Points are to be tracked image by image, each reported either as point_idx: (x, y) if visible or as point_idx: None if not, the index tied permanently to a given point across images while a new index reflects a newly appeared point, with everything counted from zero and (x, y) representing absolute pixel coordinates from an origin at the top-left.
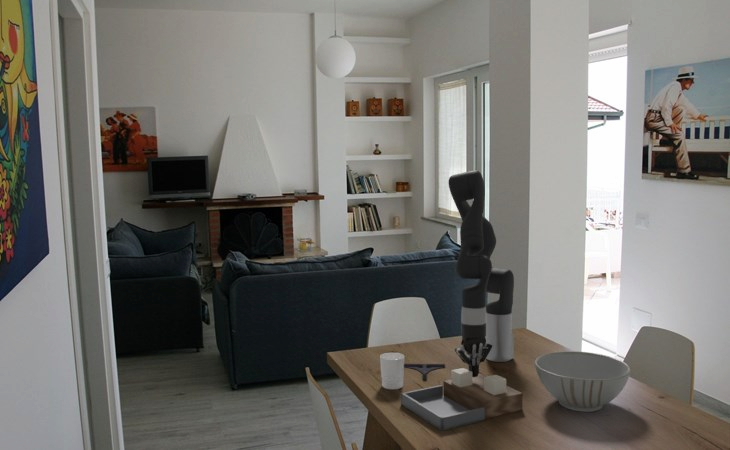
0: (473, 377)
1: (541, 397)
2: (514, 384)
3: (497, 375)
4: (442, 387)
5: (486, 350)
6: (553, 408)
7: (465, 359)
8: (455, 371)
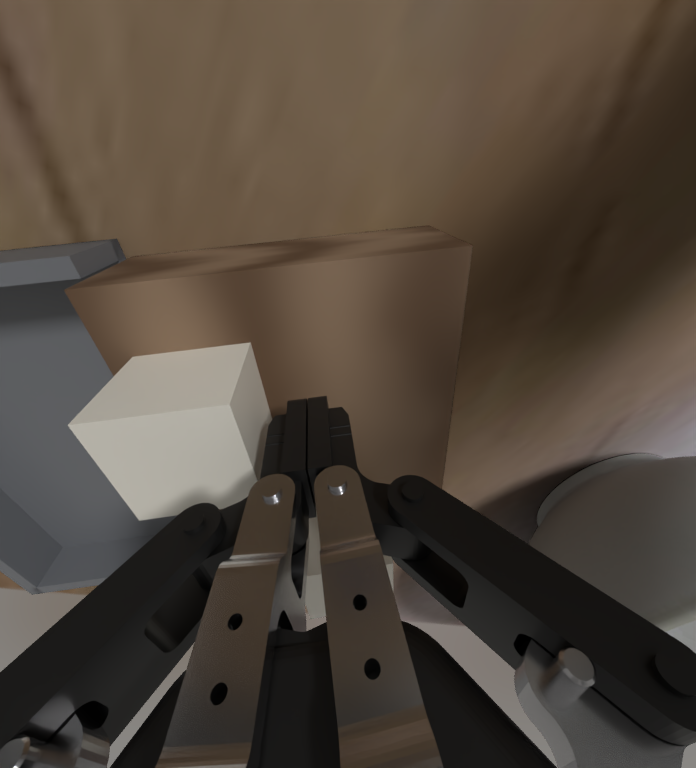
0: (359, 313)
1: (567, 430)
2: (647, 247)
3: (388, 572)
4: (86, 275)
5: (509, 659)
6: (506, 504)
7: (159, 634)
8: (109, 464)
